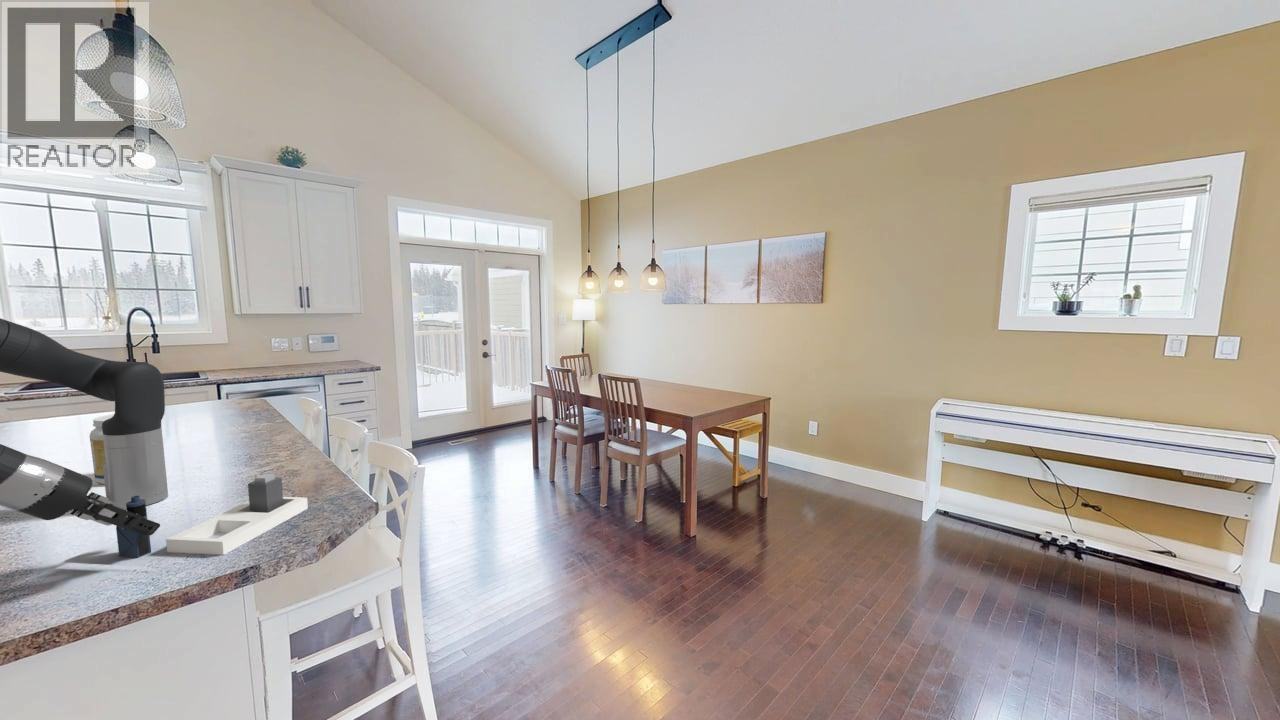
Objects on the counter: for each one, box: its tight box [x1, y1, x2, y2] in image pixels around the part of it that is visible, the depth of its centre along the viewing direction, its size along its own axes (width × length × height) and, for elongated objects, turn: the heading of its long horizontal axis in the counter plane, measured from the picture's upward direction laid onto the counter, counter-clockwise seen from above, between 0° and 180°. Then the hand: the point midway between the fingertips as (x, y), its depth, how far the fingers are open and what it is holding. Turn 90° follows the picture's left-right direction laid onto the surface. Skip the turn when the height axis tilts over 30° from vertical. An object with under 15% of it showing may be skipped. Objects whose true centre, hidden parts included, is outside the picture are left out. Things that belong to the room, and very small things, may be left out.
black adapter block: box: [247, 473, 284, 513], centre depth 100 cm, size 4×4×9 cm
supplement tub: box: [89, 413, 115, 485], centre depth 123 cm, size 12×12×17 cm
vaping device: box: [115, 496, 152, 559], centre depth 84 cm, size 3×5×12 cm, turn 79°
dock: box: [165, 496, 309, 556], centre depth 95 cm, size 20×11×4 cm, turn 177°
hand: (146, 526), depth 85 cm, fingers open, 5 cm apart
